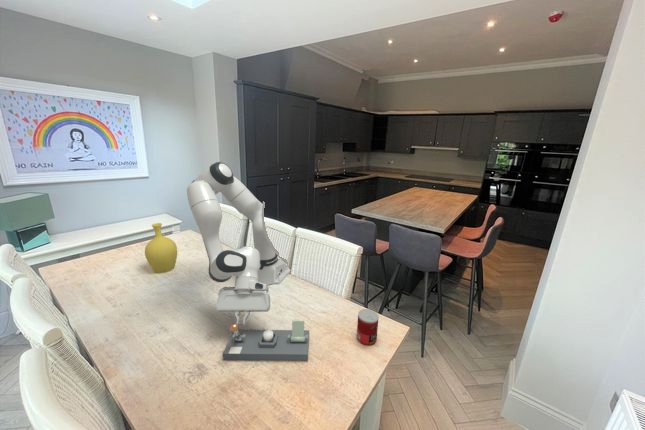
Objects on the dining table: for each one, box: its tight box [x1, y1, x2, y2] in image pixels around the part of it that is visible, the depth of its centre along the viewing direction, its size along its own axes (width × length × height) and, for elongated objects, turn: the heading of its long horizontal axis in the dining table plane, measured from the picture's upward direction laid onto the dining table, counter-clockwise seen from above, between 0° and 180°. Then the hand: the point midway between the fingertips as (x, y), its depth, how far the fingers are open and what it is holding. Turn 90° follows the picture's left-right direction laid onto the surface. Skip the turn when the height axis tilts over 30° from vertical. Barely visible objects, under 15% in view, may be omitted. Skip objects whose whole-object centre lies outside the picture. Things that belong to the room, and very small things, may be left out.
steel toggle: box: [229, 323, 243, 341], centre depth 94 cm, size 3×3×11 cm
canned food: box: [356, 308, 379, 346], centre depth 102 cm, size 8×8×11 cm
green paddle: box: [291, 320, 305, 342], centre depth 97 cm, size 2×5×8 cm, turn 89°
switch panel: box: [222, 328, 310, 362], centre depth 98 cm, size 12×30×5 cm, turn 90°
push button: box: [263, 329, 273, 342], centre depth 97 cm, size 4×4×2 cm
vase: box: [144, 222, 178, 274], centre depth 151 cm, size 16×16×28 cm
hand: (240, 324), depth 97 cm, fingers closed
